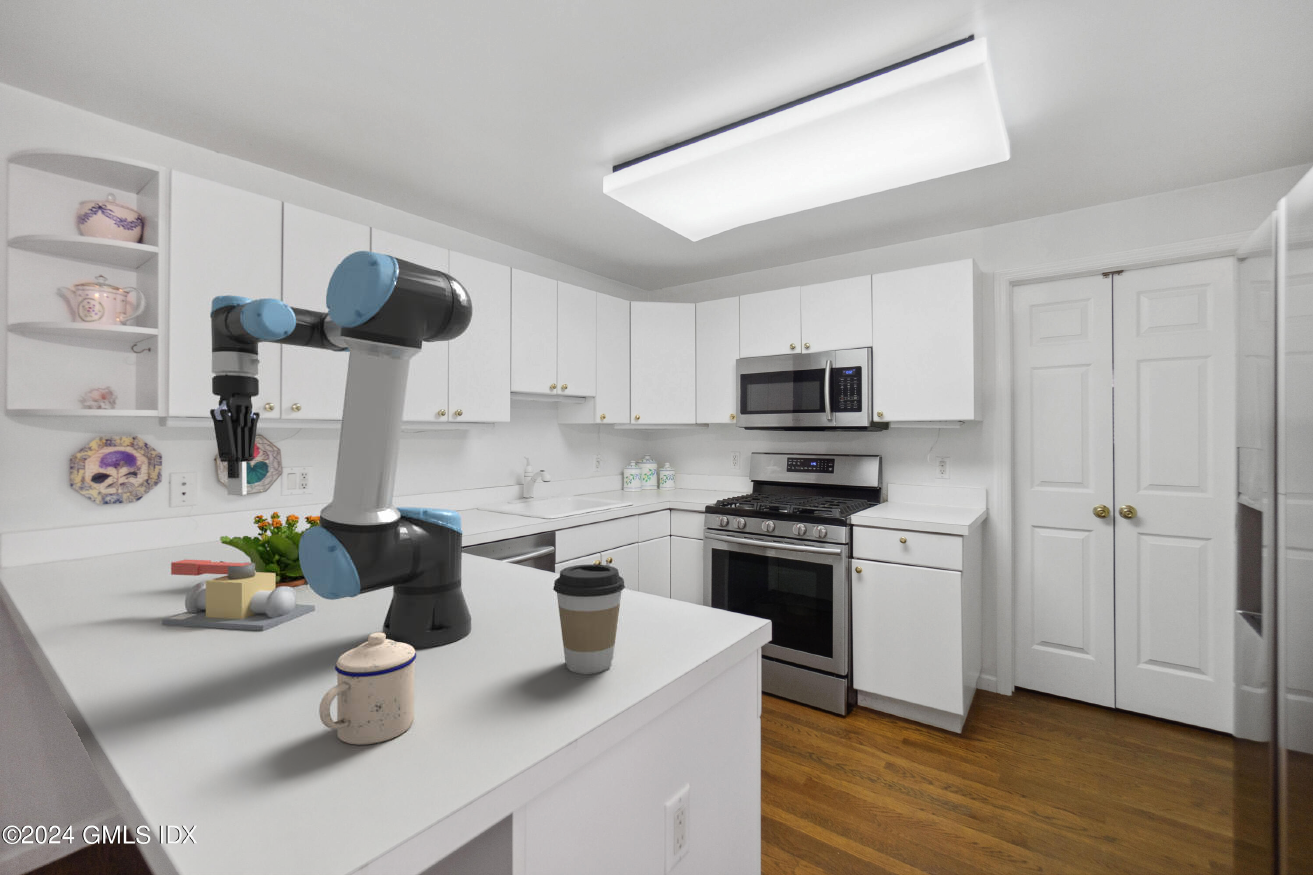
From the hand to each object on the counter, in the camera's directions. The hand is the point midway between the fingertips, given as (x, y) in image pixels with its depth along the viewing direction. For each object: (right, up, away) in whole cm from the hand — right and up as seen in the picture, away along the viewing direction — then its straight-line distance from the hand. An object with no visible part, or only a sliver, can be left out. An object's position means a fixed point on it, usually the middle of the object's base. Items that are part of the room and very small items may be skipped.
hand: (237, 494), depth 115 cm
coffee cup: (+72, -25, -23) cm, 80 cm away
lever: (-6, -16, +2) cm, 18 cm away
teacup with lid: (+48, -25, -44) cm, 70 cm away
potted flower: (-8, -25, +25) cm, 36 cm away
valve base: (0, -25, +1) cm, 25 cm away
